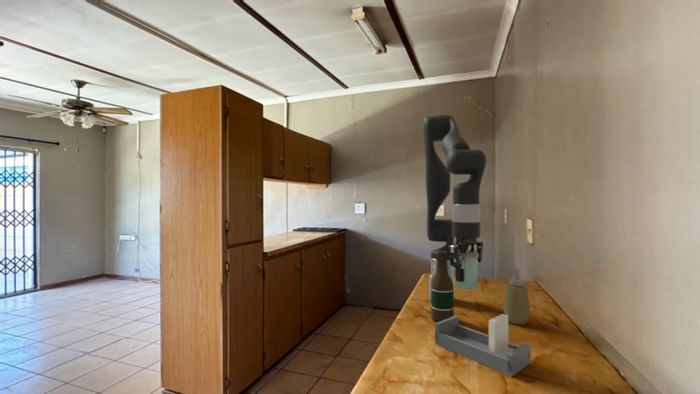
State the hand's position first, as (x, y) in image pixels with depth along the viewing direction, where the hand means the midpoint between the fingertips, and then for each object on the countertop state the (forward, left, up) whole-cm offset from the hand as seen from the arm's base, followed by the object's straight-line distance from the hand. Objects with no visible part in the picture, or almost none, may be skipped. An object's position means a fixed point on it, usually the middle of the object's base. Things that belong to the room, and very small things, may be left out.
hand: (466, 279), depth 92 cm
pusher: (+11, 0, -18) cm, 21 cm away
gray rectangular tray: (+4, 0, -19) cm, 20 cm away
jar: (0, 0, -2) cm, 2 cm away
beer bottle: (-17, +12, -20) cm, 29 cm away
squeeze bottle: (0, +30, -20) cm, 36 cm away
